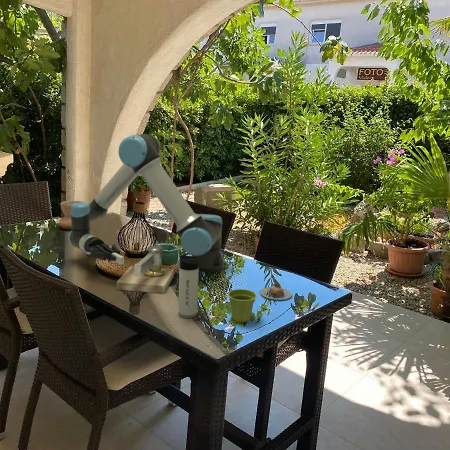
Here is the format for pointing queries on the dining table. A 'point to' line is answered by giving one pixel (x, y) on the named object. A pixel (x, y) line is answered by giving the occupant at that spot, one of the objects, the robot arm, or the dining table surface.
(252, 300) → the plant pot
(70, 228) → the ceramic jug
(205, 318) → the dining table surface
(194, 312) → the travel mug
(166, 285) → the stand
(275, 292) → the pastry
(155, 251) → the grey lever handle
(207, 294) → the dining table surface
